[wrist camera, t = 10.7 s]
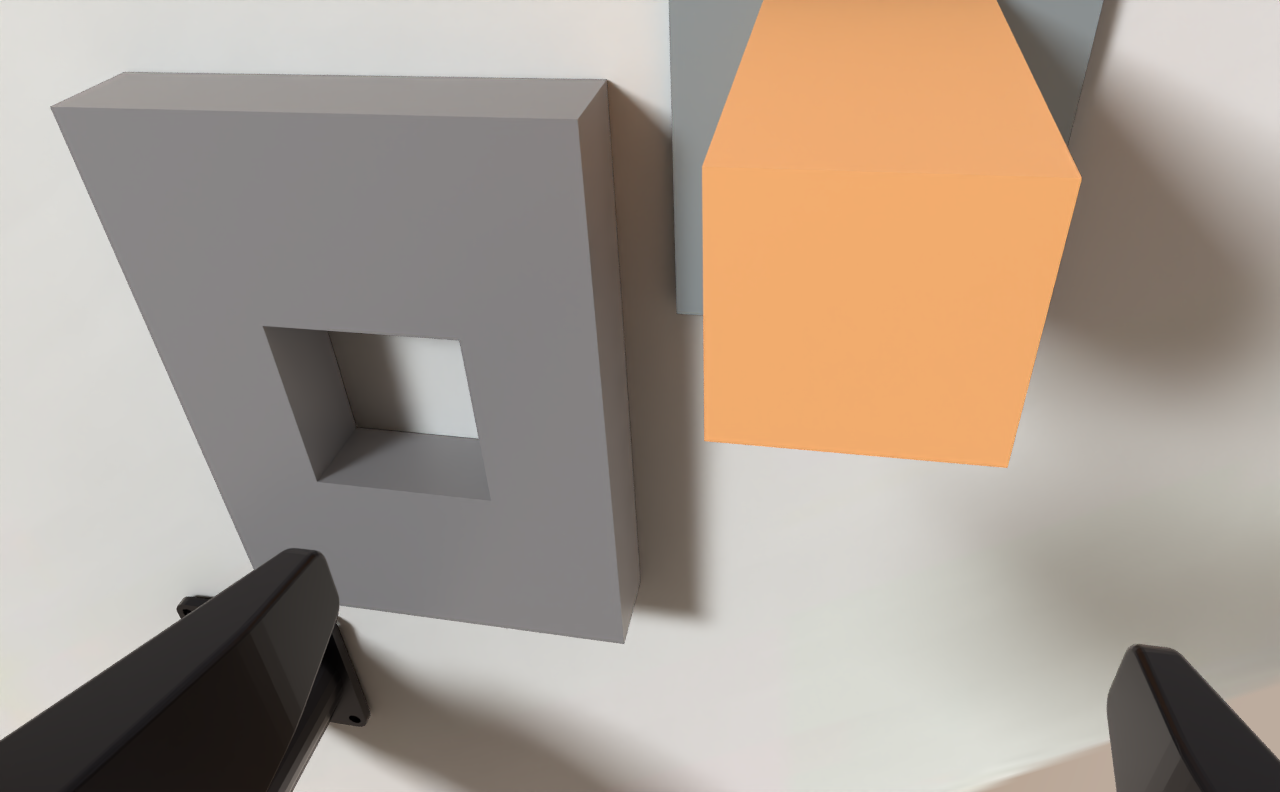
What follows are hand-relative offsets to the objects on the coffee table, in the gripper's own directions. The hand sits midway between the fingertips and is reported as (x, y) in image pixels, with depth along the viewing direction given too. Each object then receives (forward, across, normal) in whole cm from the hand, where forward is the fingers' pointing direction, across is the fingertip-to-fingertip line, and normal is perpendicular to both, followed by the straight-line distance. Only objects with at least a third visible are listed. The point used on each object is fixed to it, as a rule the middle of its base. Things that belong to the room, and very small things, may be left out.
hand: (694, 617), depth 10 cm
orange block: (+12, -2, -2) cm, 12 cm away
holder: (+13, +10, +6) cm, 17 cm away
